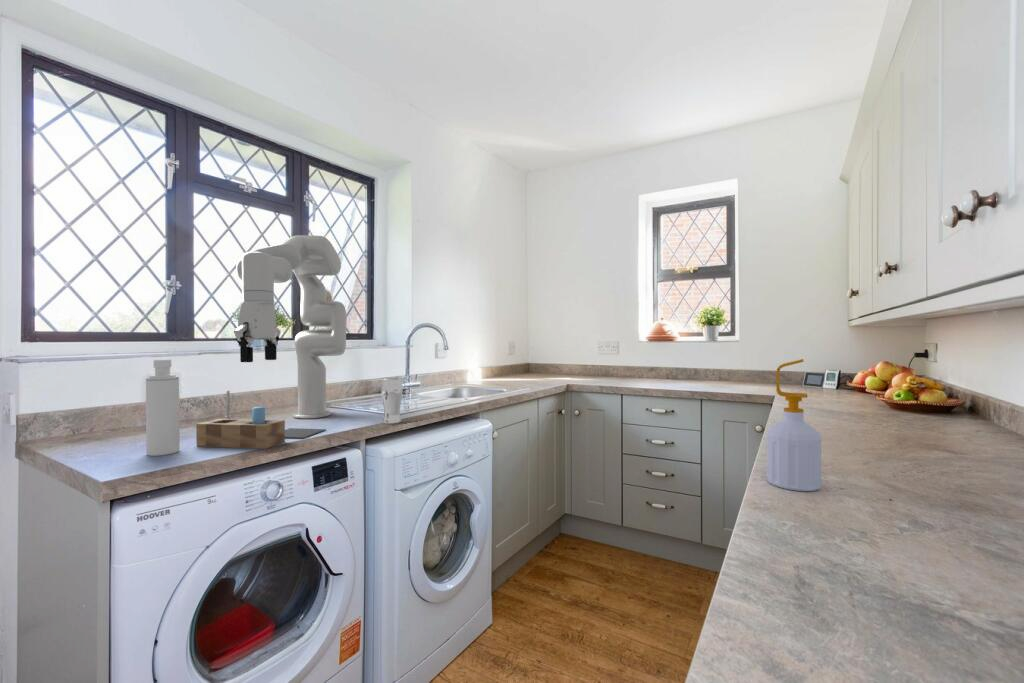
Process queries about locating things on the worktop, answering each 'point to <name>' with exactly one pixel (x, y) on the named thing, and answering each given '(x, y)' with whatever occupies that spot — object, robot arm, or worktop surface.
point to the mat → (301, 433)
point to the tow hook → (227, 406)
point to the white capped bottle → (162, 410)
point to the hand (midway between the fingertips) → (259, 360)
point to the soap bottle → (793, 447)
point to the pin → (258, 415)
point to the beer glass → (391, 399)
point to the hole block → (240, 433)
